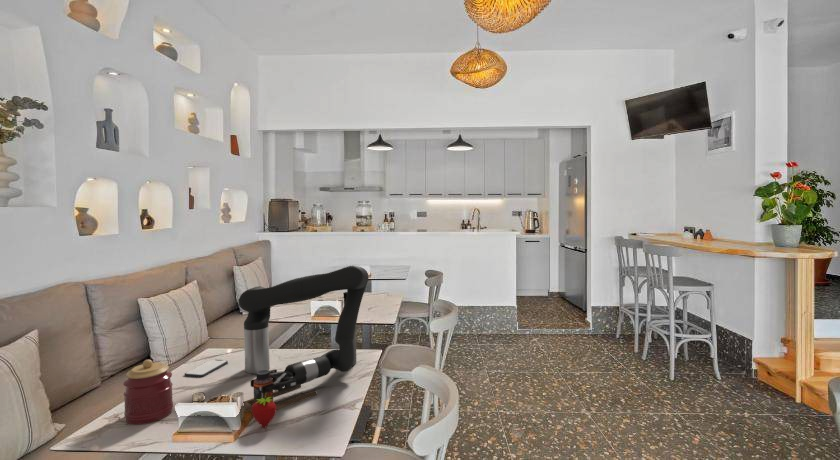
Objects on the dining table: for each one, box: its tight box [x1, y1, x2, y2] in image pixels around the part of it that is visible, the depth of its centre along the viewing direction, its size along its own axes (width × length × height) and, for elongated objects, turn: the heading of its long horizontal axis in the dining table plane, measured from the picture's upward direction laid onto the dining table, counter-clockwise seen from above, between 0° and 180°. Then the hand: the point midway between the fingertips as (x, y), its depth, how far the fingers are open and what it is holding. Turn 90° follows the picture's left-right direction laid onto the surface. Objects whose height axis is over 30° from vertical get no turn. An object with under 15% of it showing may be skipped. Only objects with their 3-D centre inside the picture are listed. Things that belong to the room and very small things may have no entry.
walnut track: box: [242, 384, 317, 412], centre depth 143 cm, size 11×21×1 cm, turn 137°
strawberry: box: [250, 395, 278, 428], centre depth 125 cm, size 6×8×10 cm
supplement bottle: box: [253, 369, 274, 404], centre depth 138 cm, size 6×6×11 cm
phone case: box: [184, 358, 229, 378], centre depth 172 cm, size 9×2×16 cm
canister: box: [122, 359, 174, 425], centre depth 133 cm, size 13×13×18 cm
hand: (256, 387), depth 137 cm, fingers open, 7 cm apart
